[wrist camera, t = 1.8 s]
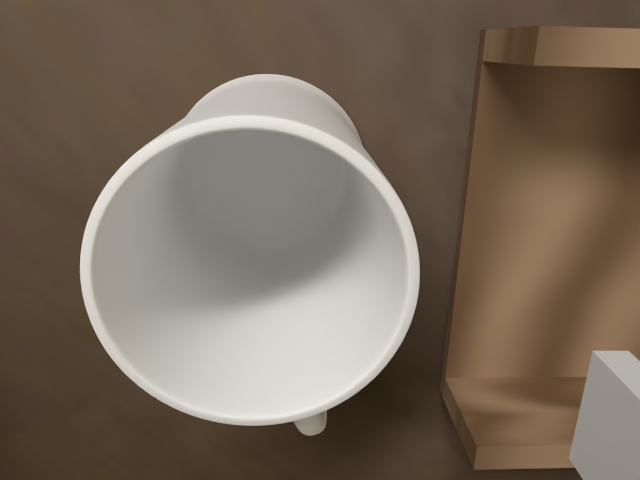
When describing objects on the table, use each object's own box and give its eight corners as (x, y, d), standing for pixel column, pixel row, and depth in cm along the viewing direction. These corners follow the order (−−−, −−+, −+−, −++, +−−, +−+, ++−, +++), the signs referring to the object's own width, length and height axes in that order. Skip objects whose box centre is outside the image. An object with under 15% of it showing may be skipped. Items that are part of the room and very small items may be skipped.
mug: (381, 310, 27) (449, 504, 16) (209, 336, 27) (151, 549, 16) (353, 59, 23) (417, 75, 12) (150, 90, 23) (15, 134, 11)
